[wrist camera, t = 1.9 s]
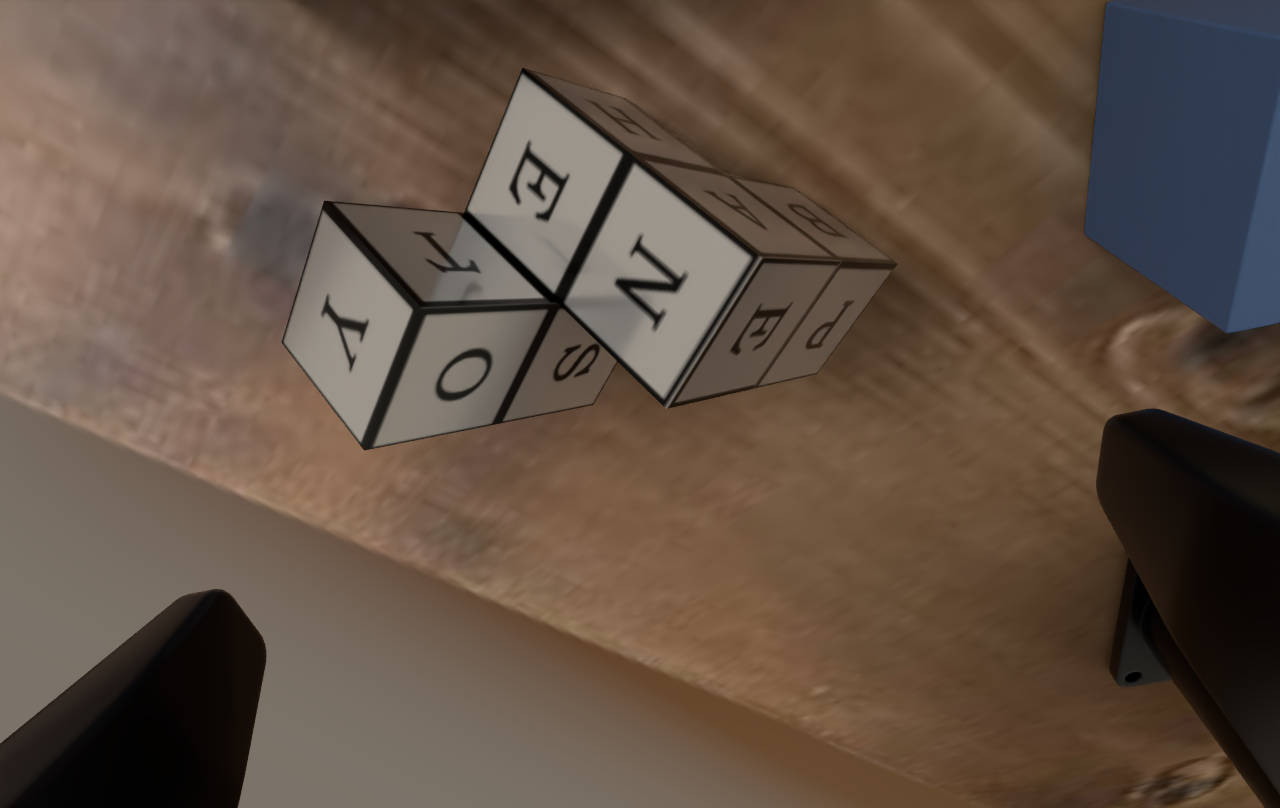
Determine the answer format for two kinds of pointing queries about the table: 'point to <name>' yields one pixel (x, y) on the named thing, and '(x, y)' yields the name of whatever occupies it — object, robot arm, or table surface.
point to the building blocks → (572, 279)
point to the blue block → (1192, 153)
